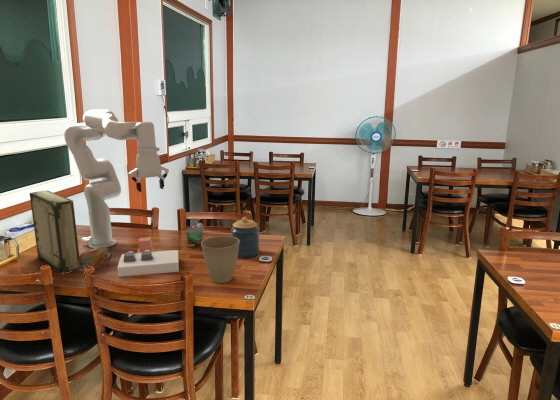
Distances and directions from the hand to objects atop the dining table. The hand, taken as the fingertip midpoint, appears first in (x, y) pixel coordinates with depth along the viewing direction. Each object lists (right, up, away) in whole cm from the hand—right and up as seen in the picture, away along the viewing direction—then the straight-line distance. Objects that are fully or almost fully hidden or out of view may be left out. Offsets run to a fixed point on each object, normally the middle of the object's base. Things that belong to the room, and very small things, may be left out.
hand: (150, 190), depth 193 cm
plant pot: (+34, -36, -18) cm, 53 cm away
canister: (+41, -30, +11) cm, 52 cm away
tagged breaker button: (0, -31, -5) cm, 32 cm away
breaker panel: (+1, -33, -5) cm, 33 cm away
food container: (+16, -27, +24) cm, 39 cm away
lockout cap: (-5, -30, +9) cm, 32 cm away
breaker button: (-7, -32, -7) cm, 33 cm away
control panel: (-41, -32, +1) cm, 52 cm away
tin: (-22, -34, -5) cm, 40 cm away
